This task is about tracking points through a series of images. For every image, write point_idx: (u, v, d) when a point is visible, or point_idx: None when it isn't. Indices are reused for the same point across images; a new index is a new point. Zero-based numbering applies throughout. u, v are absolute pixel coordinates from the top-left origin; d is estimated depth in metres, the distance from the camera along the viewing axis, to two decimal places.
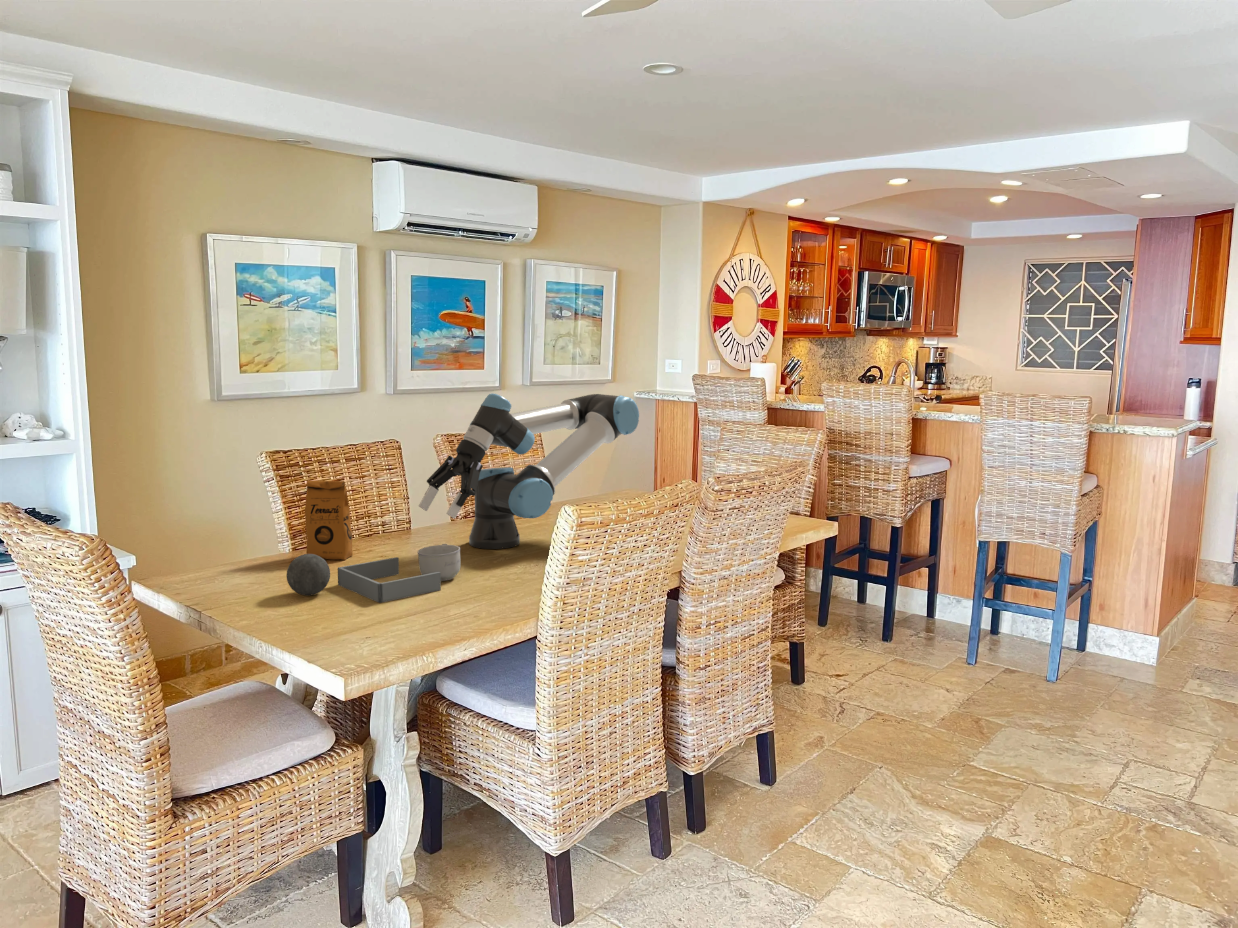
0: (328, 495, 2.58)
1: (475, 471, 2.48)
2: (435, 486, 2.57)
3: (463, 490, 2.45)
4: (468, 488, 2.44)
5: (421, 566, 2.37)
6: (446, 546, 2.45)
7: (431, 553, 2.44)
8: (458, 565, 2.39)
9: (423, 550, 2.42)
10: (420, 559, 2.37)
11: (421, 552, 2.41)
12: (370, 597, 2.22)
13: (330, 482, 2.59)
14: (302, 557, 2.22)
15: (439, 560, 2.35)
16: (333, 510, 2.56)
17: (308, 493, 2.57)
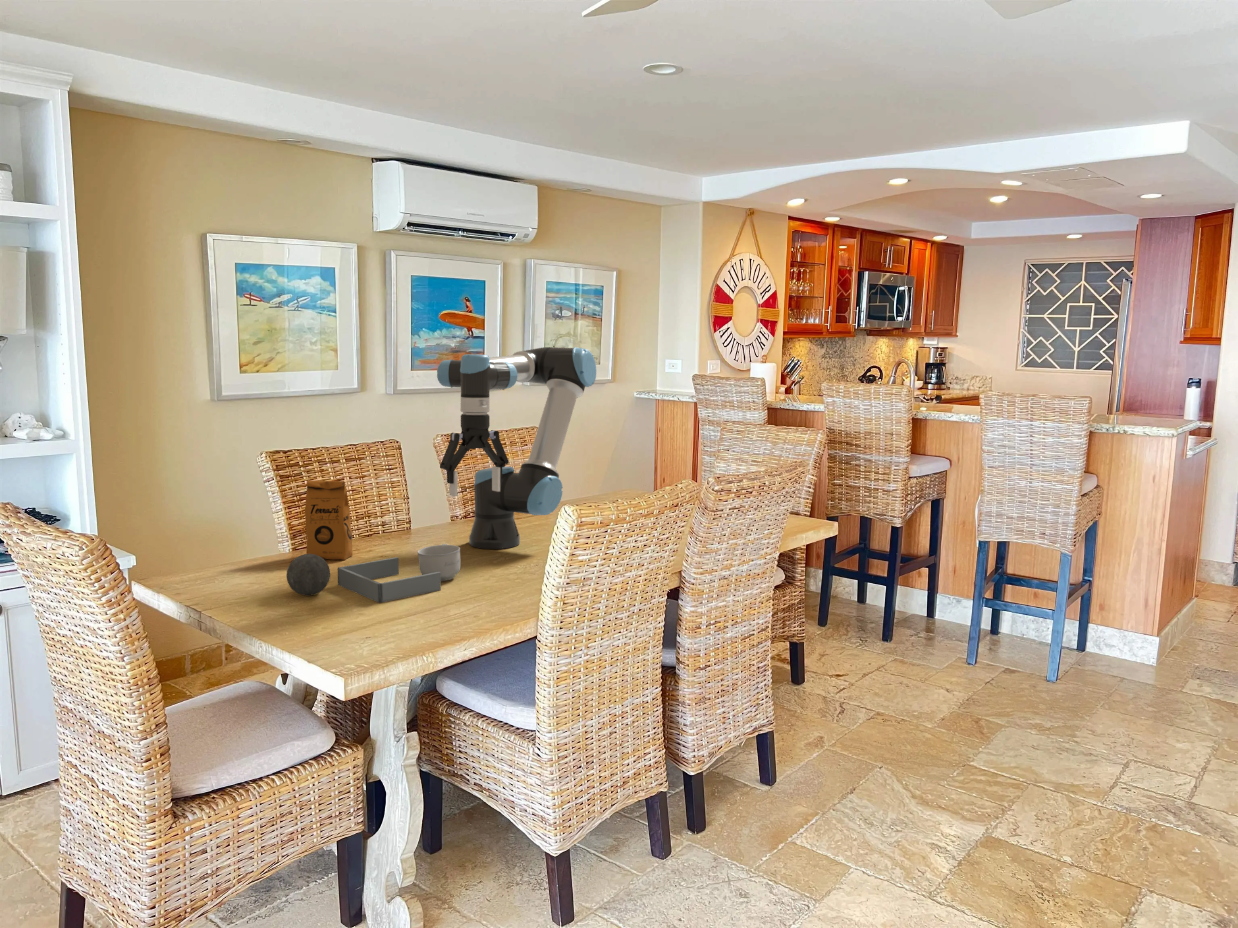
0: (328, 495, 2.58)
1: None
2: None
3: None
4: (507, 460, 2.52)
5: (421, 566, 2.37)
6: (446, 546, 2.45)
7: (431, 553, 2.44)
8: (458, 565, 2.39)
9: (423, 550, 2.42)
10: (420, 559, 2.37)
11: (421, 552, 2.41)
12: (370, 597, 2.22)
13: (330, 482, 2.59)
14: (302, 557, 2.22)
15: (439, 560, 2.35)
16: (333, 510, 2.56)
17: (308, 493, 2.57)
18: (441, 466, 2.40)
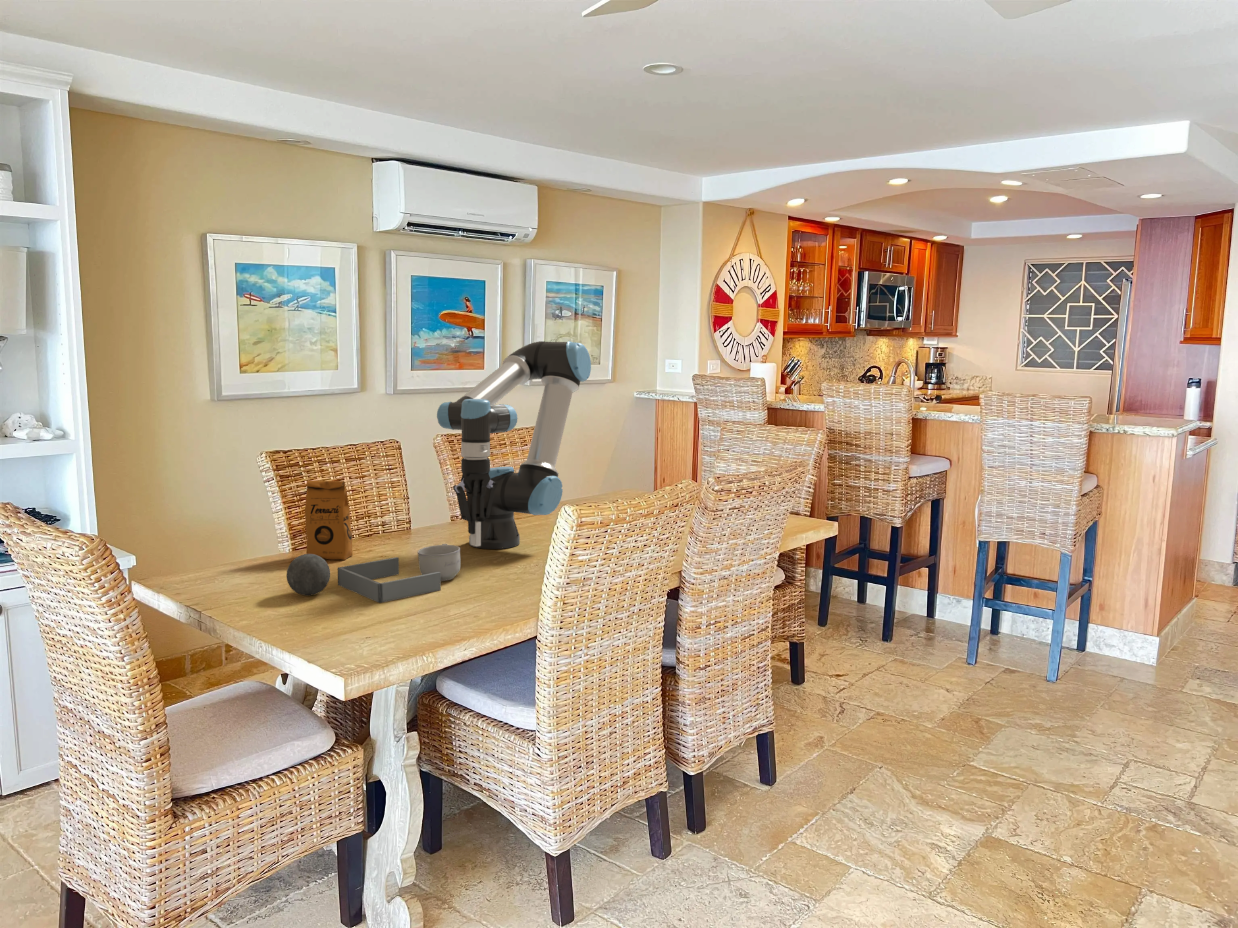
0: (328, 495, 2.58)
1: None
2: None
3: None
4: (488, 514, 2.49)
5: (421, 566, 2.37)
6: (446, 546, 2.45)
7: (431, 553, 2.44)
8: (458, 565, 2.39)
9: (423, 550, 2.42)
10: (420, 559, 2.37)
11: (421, 552, 2.41)
12: (370, 597, 2.22)
13: (330, 482, 2.59)
14: (302, 557, 2.22)
15: (439, 560, 2.35)
16: (333, 510, 2.56)
17: (308, 493, 2.57)
18: (463, 517, 2.46)
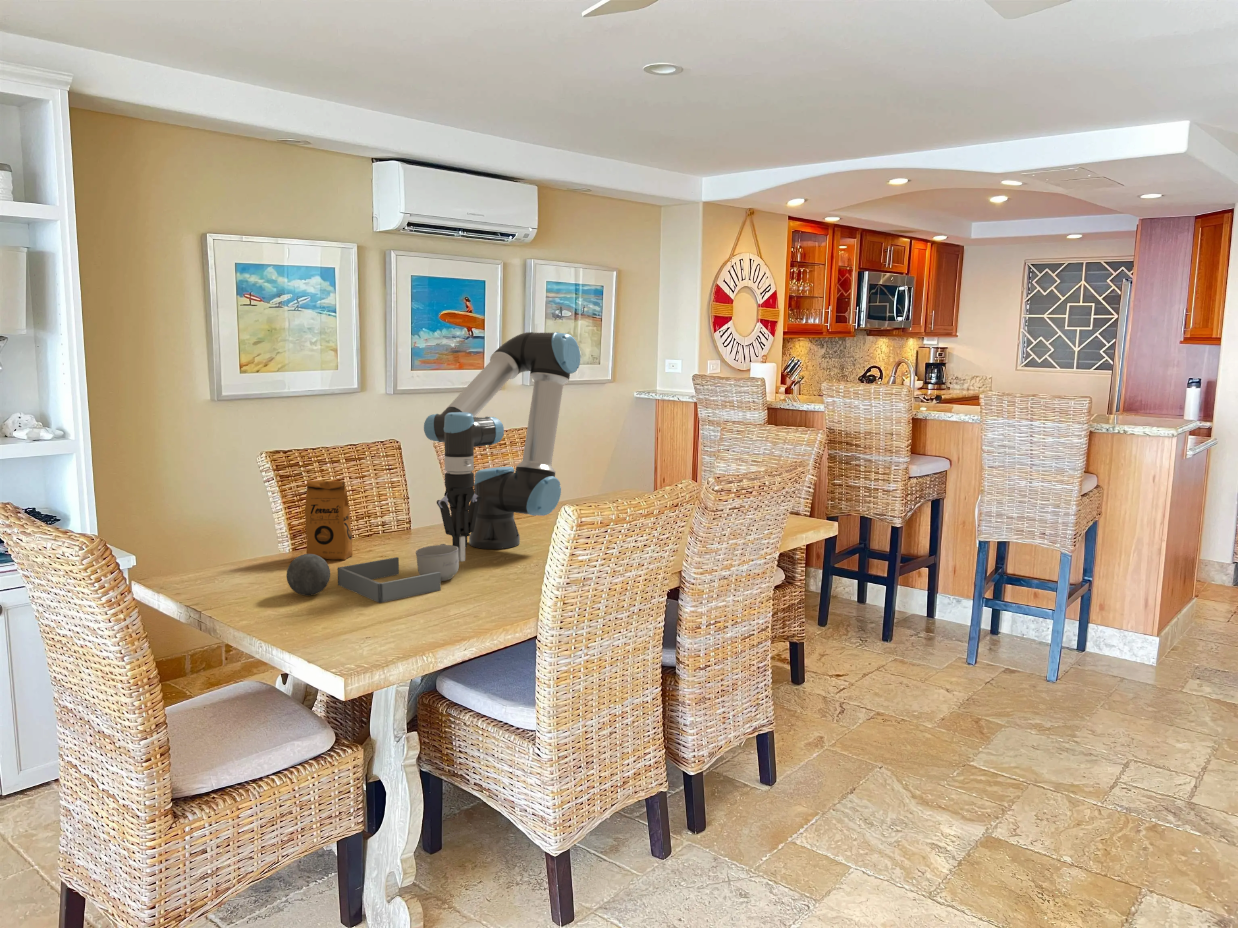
0: (328, 495, 2.58)
1: None
2: None
3: None
4: (472, 529, 2.46)
5: (419, 566, 2.37)
6: (444, 546, 2.44)
7: (429, 553, 2.44)
8: (456, 565, 2.39)
9: (421, 550, 2.42)
10: (418, 559, 2.37)
11: (419, 552, 2.41)
12: (370, 597, 2.22)
13: (330, 482, 2.59)
14: (302, 557, 2.22)
15: (437, 560, 2.35)
16: (333, 510, 2.56)
17: (308, 493, 2.57)
18: (447, 532, 2.43)
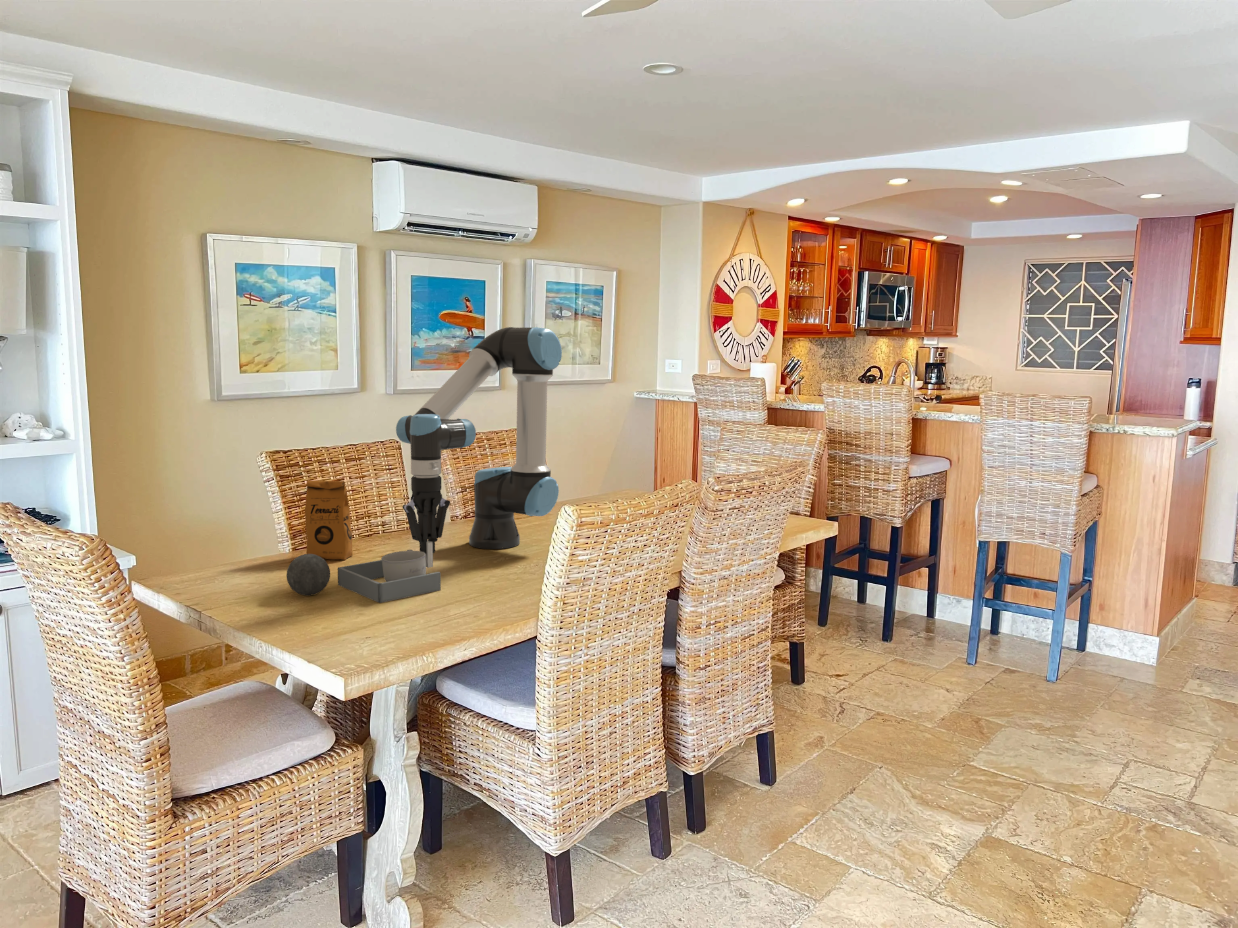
0: (328, 495, 2.58)
1: None
2: None
3: None
4: (440, 534, 2.39)
5: (385, 573, 2.30)
6: (411, 552, 2.37)
7: (396, 559, 2.37)
8: (423, 572, 2.32)
9: (387, 556, 2.35)
10: (384, 566, 2.30)
11: (385, 558, 2.34)
12: (370, 597, 2.22)
13: (330, 482, 2.59)
14: (302, 557, 2.22)
15: (403, 567, 2.28)
16: (333, 510, 2.56)
17: (308, 493, 2.57)
18: (413, 537, 2.36)
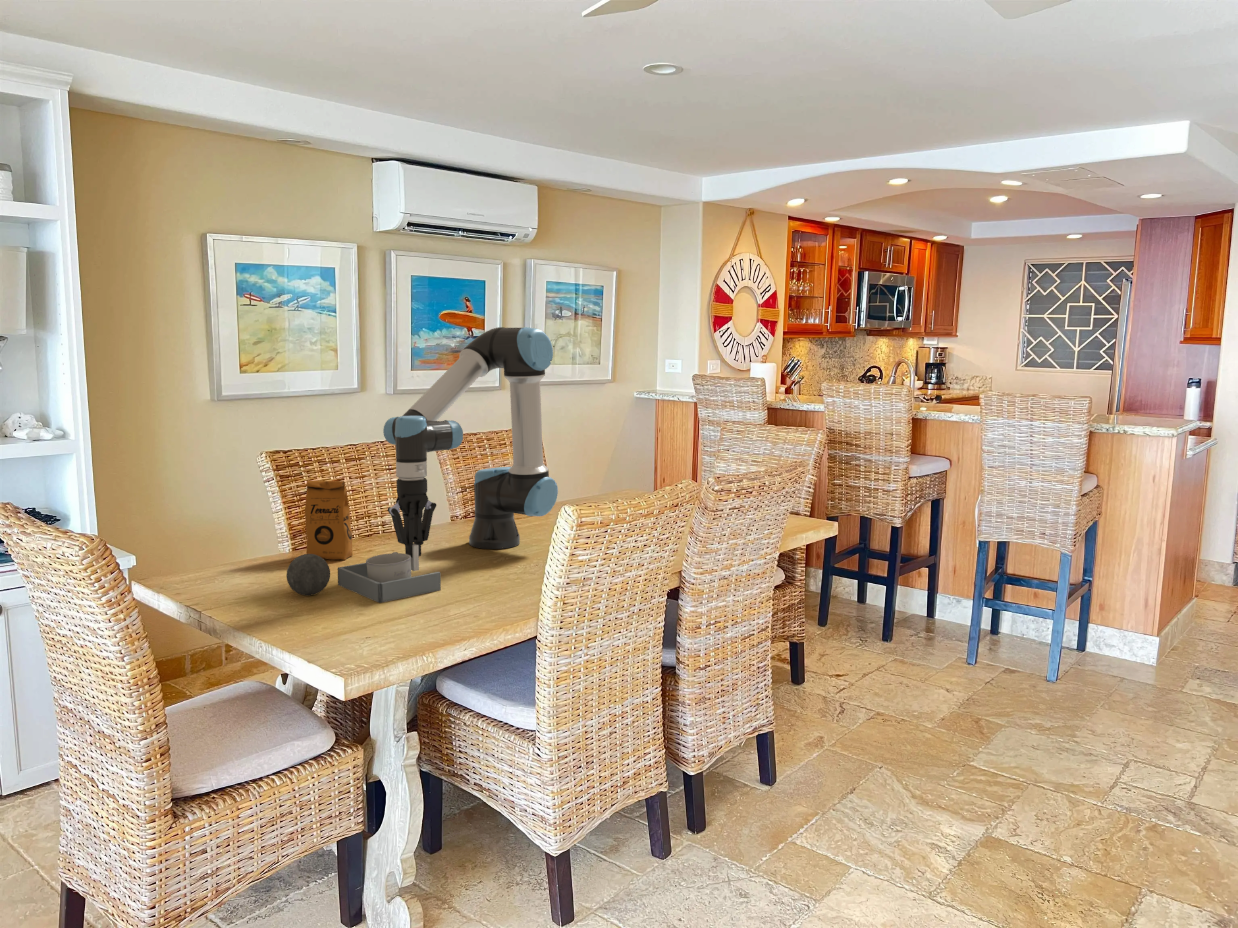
0: (328, 495, 2.58)
1: None
2: None
3: None
4: (426, 537, 2.36)
5: (369, 576, 2.27)
6: (396, 555, 2.35)
7: (381, 562, 2.34)
8: (409, 574, 2.29)
9: (372, 559, 2.32)
10: (368, 569, 2.27)
11: (370, 561, 2.31)
12: (370, 597, 2.22)
13: (330, 482, 2.59)
14: (302, 557, 2.22)
15: (388, 570, 2.25)
16: (333, 510, 2.56)
17: (308, 493, 2.57)
18: (399, 540, 2.33)
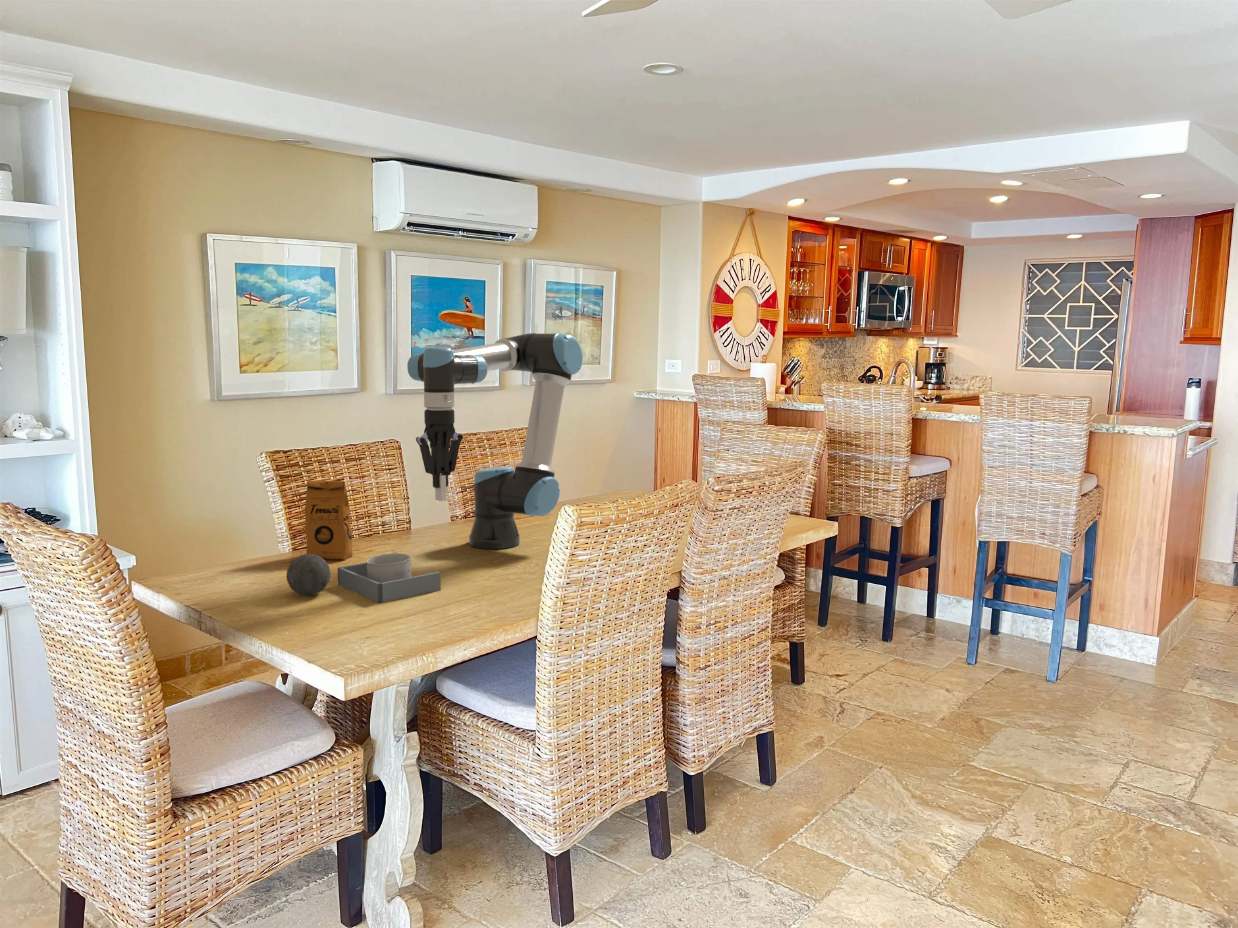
0: (328, 495, 2.58)
1: None
2: None
3: None
4: (453, 468, 2.40)
5: (369, 576, 2.27)
6: (396, 555, 2.35)
7: (381, 562, 2.34)
8: (408, 575, 2.29)
9: (372, 559, 2.32)
10: (368, 569, 2.27)
11: (370, 561, 2.31)
12: (370, 597, 2.22)
13: (330, 482, 2.59)
14: (302, 557, 2.22)
15: (388, 570, 2.25)
16: (333, 510, 2.56)
17: (308, 493, 2.57)
18: (427, 470, 2.37)
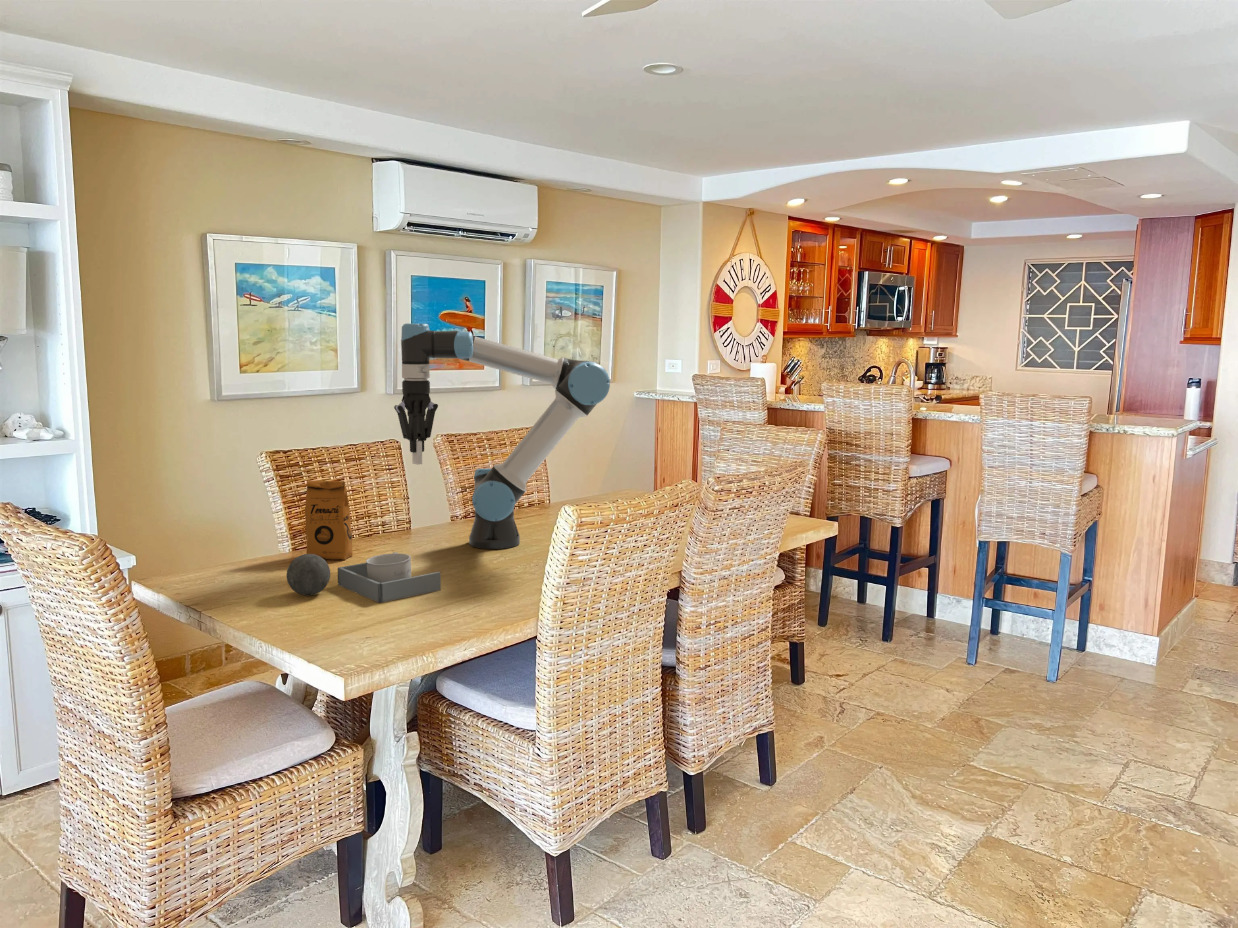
0: (328, 495, 2.58)
1: None
2: None
3: None
4: (429, 434, 2.62)
5: (369, 576, 2.27)
6: (396, 555, 2.35)
7: (381, 562, 2.34)
8: (408, 575, 2.29)
9: (372, 559, 2.32)
10: (368, 569, 2.27)
11: (370, 561, 2.31)
12: (370, 597, 2.22)
13: (330, 482, 2.59)
14: (302, 557, 2.22)
15: (388, 570, 2.25)
16: (333, 510, 2.56)
17: (308, 493, 2.57)
18: (404, 436, 2.58)
